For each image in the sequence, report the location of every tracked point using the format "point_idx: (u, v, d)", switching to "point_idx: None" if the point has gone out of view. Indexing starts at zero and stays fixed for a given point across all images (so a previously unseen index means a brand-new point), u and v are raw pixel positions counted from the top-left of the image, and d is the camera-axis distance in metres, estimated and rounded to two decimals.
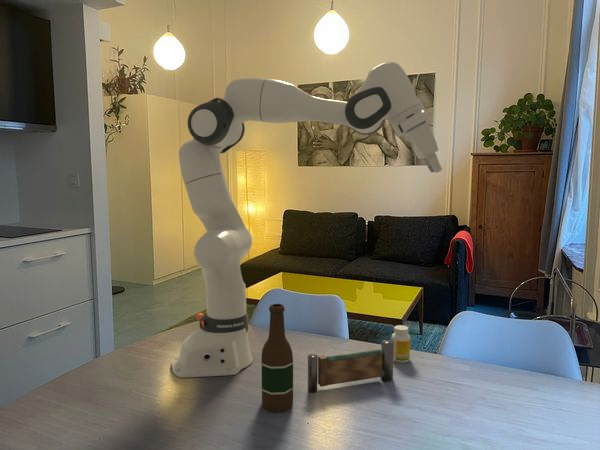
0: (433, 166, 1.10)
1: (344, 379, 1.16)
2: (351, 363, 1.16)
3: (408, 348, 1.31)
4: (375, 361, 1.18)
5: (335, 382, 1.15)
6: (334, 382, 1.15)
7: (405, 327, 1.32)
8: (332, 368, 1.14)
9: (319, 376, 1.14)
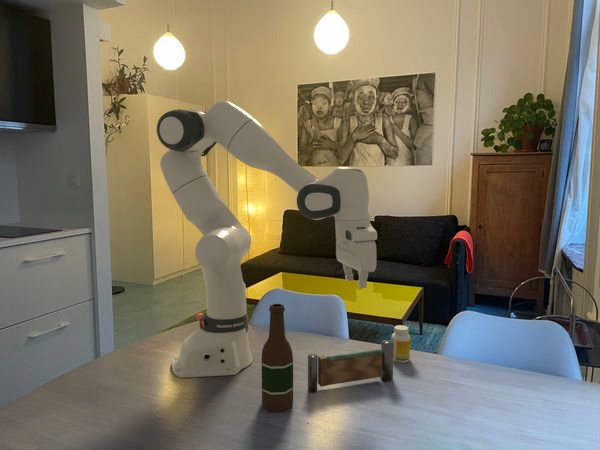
0: (360, 281, 1.12)
1: (344, 379, 1.16)
2: (351, 363, 1.16)
3: (408, 348, 1.31)
4: (375, 361, 1.18)
5: (335, 382, 1.15)
6: (334, 382, 1.15)
7: (405, 327, 1.32)
8: (332, 368, 1.14)
9: (319, 376, 1.14)
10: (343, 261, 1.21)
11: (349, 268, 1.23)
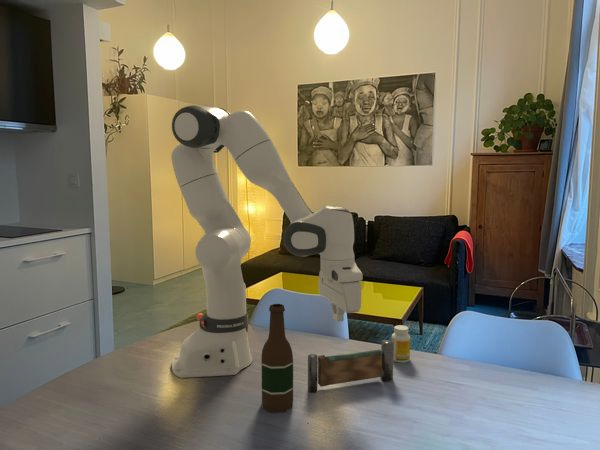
0: (338, 315, 1.19)
1: (344, 379, 1.16)
2: (351, 363, 1.16)
3: (408, 348, 1.31)
4: (375, 361, 1.18)
5: (335, 382, 1.15)
6: (334, 382, 1.15)
7: (405, 327, 1.32)
8: (332, 368, 1.14)
9: (319, 376, 1.14)
10: (326, 297, 1.23)
11: None
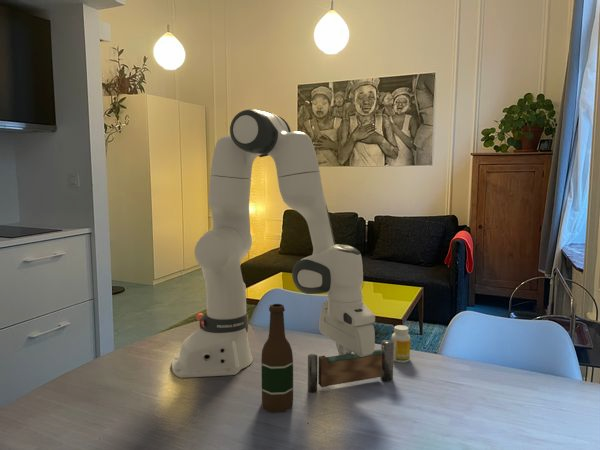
0: None
1: (344, 379, 1.15)
2: (351, 363, 1.16)
3: (408, 348, 1.31)
4: (375, 361, 1.18)
5: (336, 382, 1.15)
6: (335, 383, 1.15)
7: (405, 327, 1.32)
8: (333, 368, 1.14)
9: (320, 377, 1.14)
10: (331, 337, 1.20)
11: (343, 347, 1.19)
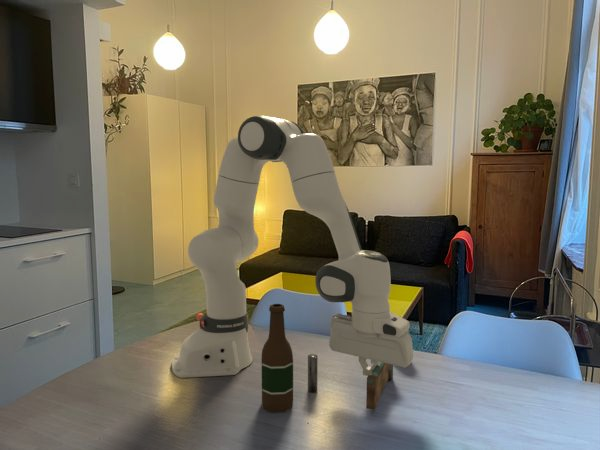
0: (372, 370, 1.09)
1: (380, 393, 1.08)
2: (382, 374, 1.10)
3: None
4: (387, 364, 1.16)
5: (377, 399, 1.06)
6: (377, 400, 1.06)
7: None
8: (377, 385, 1.05)
9: (371, 399, 1.03)
10: (352, 352, 1.10)
11: (364, 361, 1.11)
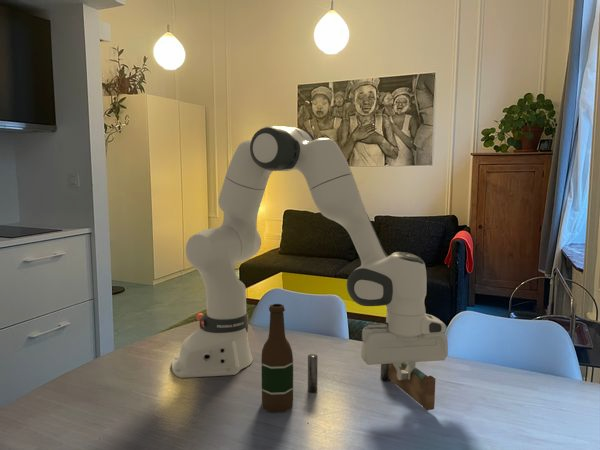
0: None
1: None
2: None
3: None
4: None
5: None
6: None
7: None
8: None
9: (431, 400, 1.02)
10: (392, 360, 1.05)
11: None
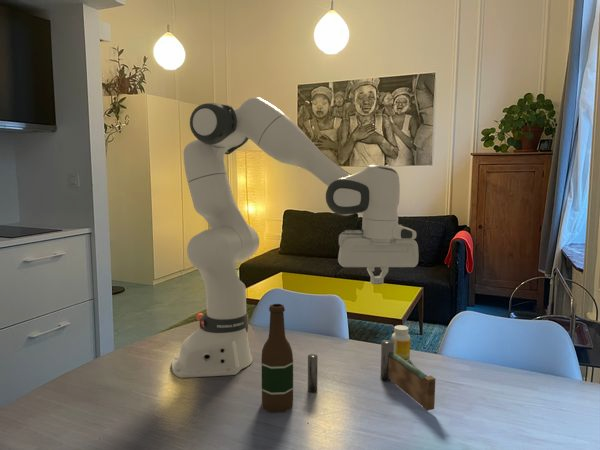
0: None
1: None
2: None
3: (408, 348, 1.31)
4: None
5: None
6: None
7: (405, 327, 1.32)
8: None
9: (431, 400, 1.02)
10: (366, 264, 1.14)
11: None
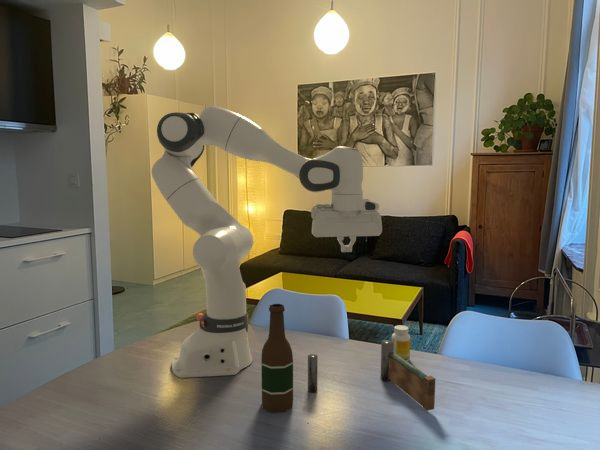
0: None
1: None
2: None
3: (408, 348, 1.31)
4: None
5: None
6: None
7: (405, 327, 1.32)
8: None
9: (431, 400, 1.02)
10: (336, 234, 1.30)
11: None
